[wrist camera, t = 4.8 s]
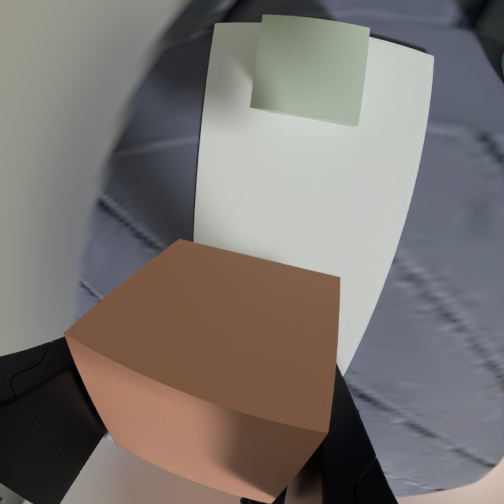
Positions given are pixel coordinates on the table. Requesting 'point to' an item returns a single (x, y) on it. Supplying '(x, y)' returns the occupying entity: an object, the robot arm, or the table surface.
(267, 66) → the sage block
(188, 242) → the terracotta block
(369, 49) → the white mat
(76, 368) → the robot arm
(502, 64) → the beverage can
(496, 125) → the table surface
